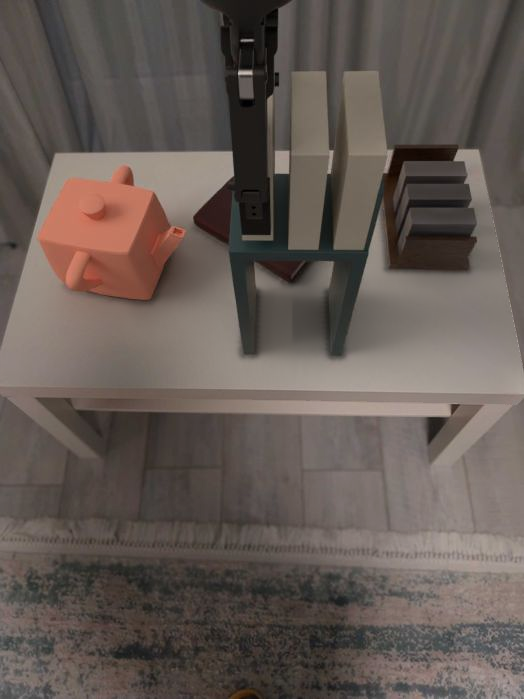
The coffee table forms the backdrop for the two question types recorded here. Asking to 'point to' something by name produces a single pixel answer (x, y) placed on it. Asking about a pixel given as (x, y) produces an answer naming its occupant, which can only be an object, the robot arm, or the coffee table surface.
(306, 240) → the teal stand with panels
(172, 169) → the coffee table surface
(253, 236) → the beige rectangular block
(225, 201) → the book
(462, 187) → the brown rack
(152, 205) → the teapot
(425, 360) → the coffee table surface
